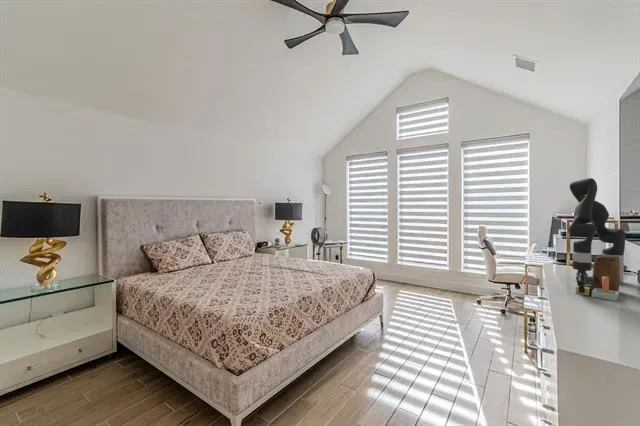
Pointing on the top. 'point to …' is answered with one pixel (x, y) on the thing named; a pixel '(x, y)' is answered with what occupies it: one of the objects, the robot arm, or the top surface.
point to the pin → (605, 285)
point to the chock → (587, 290)
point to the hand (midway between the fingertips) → (581, 292)
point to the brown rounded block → (606, 271)
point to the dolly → (589, 283)
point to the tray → (605, 294)
